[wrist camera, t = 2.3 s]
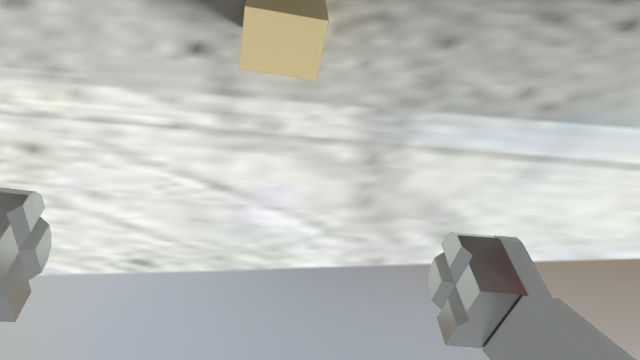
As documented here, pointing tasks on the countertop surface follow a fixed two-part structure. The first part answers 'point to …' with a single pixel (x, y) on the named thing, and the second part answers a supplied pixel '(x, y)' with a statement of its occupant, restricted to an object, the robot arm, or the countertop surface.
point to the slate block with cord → (284, 37)
